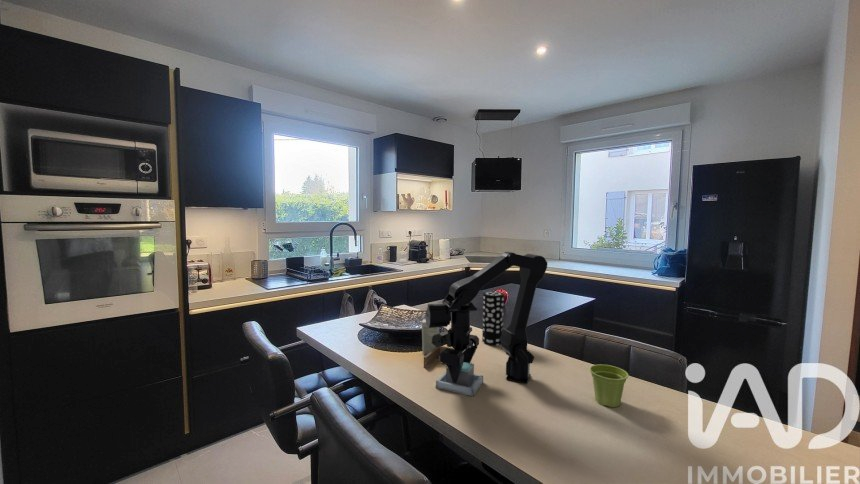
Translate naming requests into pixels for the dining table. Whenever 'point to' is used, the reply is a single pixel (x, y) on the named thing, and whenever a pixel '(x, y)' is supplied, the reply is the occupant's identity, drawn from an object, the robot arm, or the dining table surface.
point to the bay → (433, 355)
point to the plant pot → (608, 384)
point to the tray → (460, 389)
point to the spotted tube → (492, 317)
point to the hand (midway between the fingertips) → (460, 375)
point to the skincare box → (428, 337)
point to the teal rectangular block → (463, 375)
